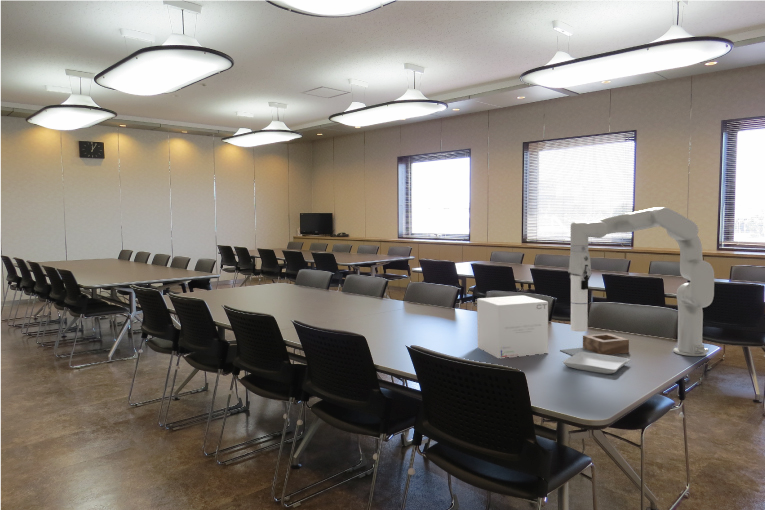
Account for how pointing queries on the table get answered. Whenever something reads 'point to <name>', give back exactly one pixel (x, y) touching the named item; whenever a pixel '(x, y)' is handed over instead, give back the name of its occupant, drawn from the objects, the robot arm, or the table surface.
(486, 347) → the cube
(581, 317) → the cylindrical container
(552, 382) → the table surface
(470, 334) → the table surface
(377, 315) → the table surface
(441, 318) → the table surface
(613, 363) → the salad plate
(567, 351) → the mat
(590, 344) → the collar
